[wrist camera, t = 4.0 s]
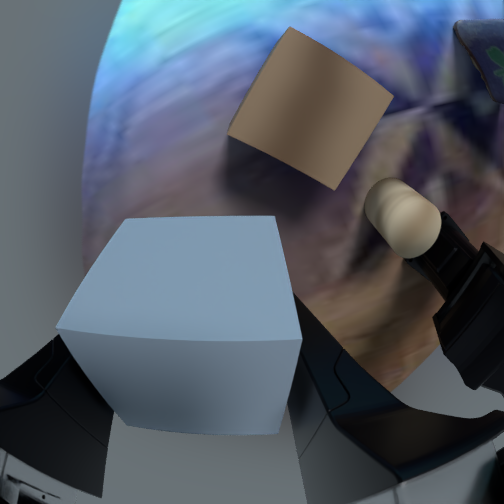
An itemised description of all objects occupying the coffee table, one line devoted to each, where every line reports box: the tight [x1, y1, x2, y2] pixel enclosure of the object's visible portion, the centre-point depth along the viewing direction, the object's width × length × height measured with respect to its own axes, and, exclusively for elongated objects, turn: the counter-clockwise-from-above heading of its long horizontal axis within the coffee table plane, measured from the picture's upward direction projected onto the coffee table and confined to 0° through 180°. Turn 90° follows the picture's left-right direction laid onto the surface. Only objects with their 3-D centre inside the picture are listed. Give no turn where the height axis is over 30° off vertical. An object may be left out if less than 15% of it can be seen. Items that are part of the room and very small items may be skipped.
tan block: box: [227, 27, 394, 191], centre depth 15 cm, size 7×7×5 cm
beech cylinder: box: [365, 178, 441, 258], centre depth 20 cm, size 5×5×5 cm
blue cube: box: [56, 216, 302, 435], centre depth 8 cm, size 5×5×5 cm
